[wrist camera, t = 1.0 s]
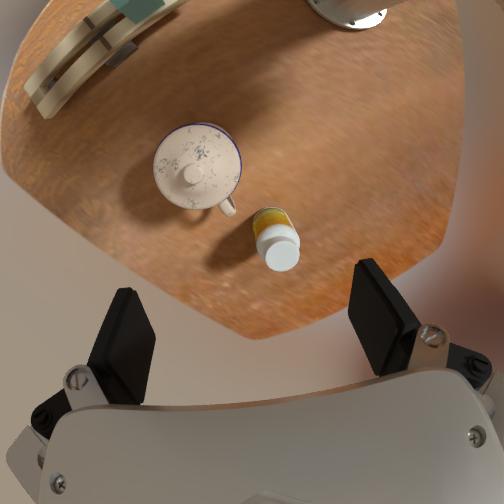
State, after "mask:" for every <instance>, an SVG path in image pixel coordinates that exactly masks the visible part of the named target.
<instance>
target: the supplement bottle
mask: <svg viewBox="0 0 504 504" xmlns="http://www.w3.org/2000/svg"><path fill="white" fill-rule="evenodd" d="M252 228H253V233H254V238H255V243H256V248H257V251H258V254H259V256H260V257H261V258H262V259H263V260H264V261H266V264H267V265H268V266H269V267H270V268H271V269H273V270H275V271H286V270H289V269H291V268H292V267H294V266H295V265H296V263H297V262H298V260H299V247H300V240H299V237H298V234H297V232H296V230H295V229H294V227H293V225H292V223H291V221H290V219H289V217H288V216H287V214H286V213H285V212H284V211H283V210H281V209H279V208H276V207H267V208H264V209H262V210H260V211H259V212H258V213H257V214H256V215H255V217H254V219H253V222H252Z"/></svg>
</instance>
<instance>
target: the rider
mask: <svg viewBox="0 0 504 504" xmlns="http://www.w3.org/2000/svg"><path fill="white" fill-rule="evenodd" d="M110 1H111V3H112V4H113V5H114V6H115V7H116V8H117V9H118V10H119V11H120V12H121V13H123V14H124V15H125V16H126V17H127V18H129V19H130V20H131V21H132V22H133V23H135V24H137V23H139V22H140V21H141V20H143V19H144V18H146V17H147V16H148V15H150V14H151V13H153V12H154V11H156V10H157V9H159V8H160V7H162V6H163V5H165V3H164V1H163V0H110Z"/></svg>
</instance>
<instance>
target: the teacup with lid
mask: <svg viewBox="0 0 504 504" xmlns="http://www.w3.org/2000/svg"><path fill="white" fill-rule="evenodd" d="M241 170H242V163H241V156H240V153H239V150H238V148H237V146H236V144H235V143H234V141H233V139H232V137H231V136H230V135H229V133H228V132H227V131H226V130H224V129H223V128H222V127H220V126H218V125H216V124H213V123H208V122H199V123H194V124H188V125H184V126H181V127H179V128H177V129H175V130H173V131H172V132H170V133H169V134H168V135H167V136H166V137H165V138H164V139H163V140H162V141H161V143H160V144H159V146H158V148H157V150H156V152H155V155H154V159H153V175H154V179H155V182H156V185H157V186H158V188H159V190H160V192H161V193H162V194H163V195H164V196H165V197H166V198H167V199H168V200H169V201H170V202H172V203H173V204H175V205H177V206H179V207H182V208H185V209H191V210H202V209H207V208H211V207H214V206H216V205H218V207H219V208H220V210H221V211H222V212H223V213H224V214H225V215H226V216H227V217H231V216H233V215H235V214H236V207H235V204H234V201H233V199H232V197H231V194H232V192H233V191H234V190H235V188H236V186H237V184H238V182H239V179H240V176H241Z"/></svg>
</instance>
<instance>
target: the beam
mask: <svg viewBox="0 0 504 504" xmlns="http://www.w3.org/2000/svg"><path fill="white" fill-rule="evenodd" d="M163 1H164V3H165V5H163V6H162V7H160V8H159V9H157V10H156V11H154V12H153V13H151V14H150V15H148V16H147V17H146V18H144V19H143V20H141V21H140V22H139V23H137V24H135V23H133V22H132V21H131V20H130V19H129V18H127V17H125V18H124V19H122V20H121V21H120V22H119V23H117V22H116V21H115V20H114V19H116V18H117V17H118V16H120V15H121V14H122V13H121V12H120V11H119V10H118V9H117V8H116V7H115V6H114V5H113V4H112V3H111V1H110V0H106V1H105V2H103V3H102V4H101V5H100V6H98V7H97V8H96V9H95V10H94V11H93V12H91V13H90V14H89V15H88V16H86V17H85V18H84V19H83V20H82V21H81V22H80V23H79V24H78V25H77V26H76V27H75V28H74V29H73V30H72V31H71V32H70V33H69V34H68V35H67V36H66V37H65V38H64V39H63V40H62V41H61V42H60V43H59V44H58V45H57V46H56V47H55V48H54V50H53V51H52V52H51V53H50V54H49V55H48V56H47V57H46V59H45V60H44V61H43V62H42V63H41V65H40V66H39V67H38V68H37V69H36V71H35V72H34V73H33V74H32V76H31V77H30V78H29V80H28V81H27V82H26V84H25V85H24V86H23V87H24V89H25V91H26V92H27V94H28V95H29V97H30V98H31V100H32V101H33V103H34V104H35V106H36V107H37V109H38V110H39V112H40V113H41V115H42V116H43V118H44V119H50V118H53V117H54V116H55V115H56V113H57V112H58V111H59V110H60V109H61V107H62V106H63V105H64V104H65V103H66V102H67V101H68V99H69V98H70V97H71V96H72V95H73V94H74V93H75V92H76V91H77V90H78V89H79V87H80V86H81V85H82V84H83V83H84V82H85V81H86V80H87V79H88V78H89V77H90V76H91V75H92V74H93V73H94V72H95V71H96V70H97V69H99V68H100V67H101V66H102V65H103V64H104V63H105V65H106V66H110V67H113V68H116V67H117V66H118V65H119V64H120V63H121V62H123V61H124V60H125V59H126V58H127V57H129V56H130V55H131V54H132V53H133V52H135V51H136V50H137V49H139V48H138V47H137V46H136V45H135V43H134V42H133V41H132V39H133V38H135V37H136V36H137V35H139V34H140V33H141V32H143V31H144V30H145V29H147V28H148V27H149V26H151V25H152V24H154V23H155V22H157V21H158V20H159V19H161V18H162V17H164V16H165V15H167V14H169V13H170V12H172V11H173V10H175V9H176V8H178V7H180V6H181V5H183V4H185V3H186V2H188V1H190V0H163ZM87 43H89V44H90V45H91V47H90V48H89V49H88V50H87V51H86V52H85V53H84V54H83V55H82V56H80V57H79V59H78V60H77V61H76V62H75V63H74V64H73V65H72V66H71V67H70V68H69V69H68V70H67V71H66V72H65V73H64V74H63V75H62V77H61V78H60V79H59V80H58V79H57V78H56V75H57V74H58V73H59V72H60V71H61V70H62V68H63V67H64V66H65V65H66V64H67V63H68V62H69V61H70V60H71V59H72V58H73V57H74V56H75V55H76V54H77V53H78V52H79V51H80V50H81V49H82V48H83V47H84V46H85V45H86V44H87Z"/></svg>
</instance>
